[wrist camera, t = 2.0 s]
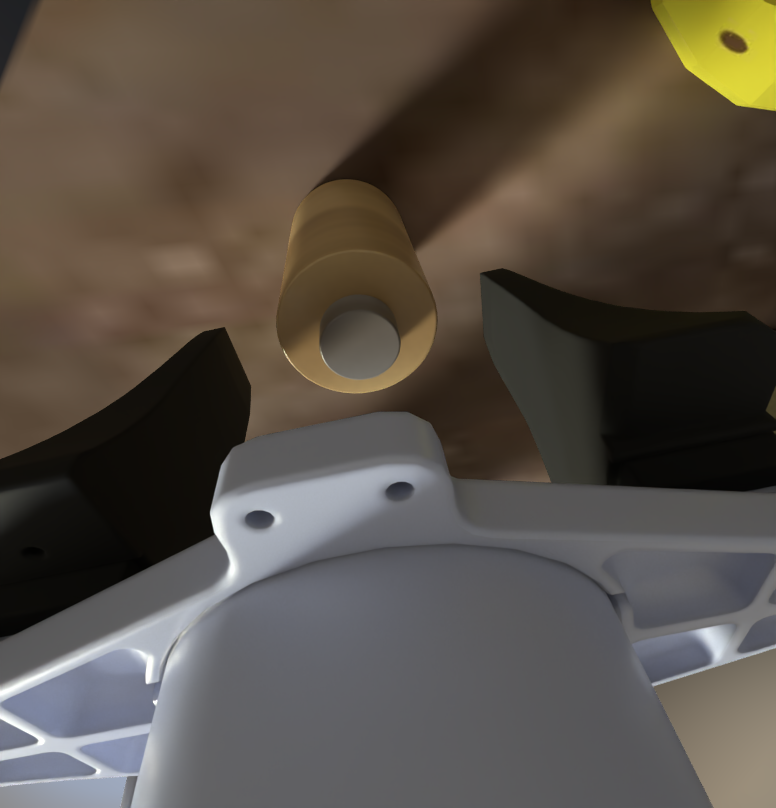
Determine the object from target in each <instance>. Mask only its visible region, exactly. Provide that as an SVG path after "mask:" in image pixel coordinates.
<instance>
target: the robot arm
mask: <svg viewBox="0 0 776 808" xmlns="http://www.w3.org/2000/svg"><path fill="white" fill-rule="evenodd" d="M480 280H481V297H482V314H483V331H484V339H485V342H486V344H487V347H488V350H489V353H490V355H491V358H492V360H493V363H494V365H495V367H496V369H497V370H498V372H499V374H500V376H501V378H502V379H503V381H504V383H505V385H506V386H507V388H508V390H509V392H510V393H511V395H512V397H513V399H514V400H515V402H516V404H517V406H518V407H519V409H520V411H521V412H522V414H523V416H524V418H525V420H526V422H527V424H528V426H529V428H530V430H531V432H532V435H533V437H534V440H535V442H536V445H537V447H538V449H539V452H540V454H541V457H542V459H543V462H544V464H545V467H546V470H547V472H548V475H549V477H550V480H551V482H552V483H544V482H522V481H501V480H479V479H458V478H455V477H452V476H451V475H450V473H449V470H448V466H447V463H446V459H445V456H444V452H443V448H442V445H441V441H440V439H439V438H438V436H437V434H436V432H435V431H434V429H433V427H432V425H431V423H429V422H427V421H425V420H423V419H421V418H419V417H417V416H415V415H413V414H411V413H409V412H375V413H370V414H365V415H360V416H355V417H350V418H345V419H340V420H336V421H331V422H326V423H321V424H316V425H311V426H306V427H301V428H297V429H292V430H287V431H282V432H277V433H272V434H267V435H262V436H258V437H255V438H253V439H251V440H249V441H246V442H244V441H245V437H246V432H247V426H248V421H249V416H250V402H251V385H250V383H249V380H248V378H247V376H246V374H245V371H244V369H243V367H242V365H241V363H240V360H239V358H238V356H237V354H236V351H235V349H234V347H233V345H232V342H231V340H230V338H229V336H228V333H227V331H226V329H225V327H223V328H218V329H214V330H209V331H204V332H202V333H200V334H199V335H197V336H196V337H195V338H193V339H192V340H191V341H190V342H188V343H187V344H186V345H185V346H184V347H183V348H181V349H180V350H179V351H178V352H177V353H176V354H174V355H173V356H172V357H171V358H170V359H169V360H168V361H166V362H165V363H164V364H163V365H162V366H161V367H159V368H158V369H157V370H156V371H155V372H153V373H152V374H151V375H150V376H148V377H147V378H146V379H145V380H143V381H142V382H141V383H140V384H138V385H137V386H136V387H135V388H133V389H132V390H131V391H129V392H128V393H126V394H125V395H124V396H122V397H121V398H119V399H118V400H116V401H115V402H113V403H112V404H110V405H109V406H107V407H106V408H104V409H102V410H101V411H99V412H98V413H96V414H94V415H92V416H90V417H89V418H87V419H85V420H83V421H82V422H80V423H78V424H76V425H74V426H73V427H71V428H69V429H67V430H65V431H63V432H61V433H59V434H57V435H55V436H53V437H51V438H49V439H47V440H45V441H43V442H40V443H38V444H36V445H34V446H31V447H29V448H27V449H25V450H22V451H20V452H18V453H15V454H13V455H10V456H7V457H5V458H2V459H0V787H2V786H11V785H19V784H28V783H41V782H52V781H65V780H80V779H95V778H110V777H125V776H127V780H126V784H125V789H124V793H123V798H122V802H121V807H120V808H713V806H712V804H711V802H710V800H709V798H708V796H707V794H706V792H705V790H704V788H703V786H702V784H701V782H700V780H699V778H698V776H697V774H696V772H695V770H694V768H693V766H692V764H691V762H690V760H689V758H688V756H687V754H686V752H685V750H684V748H683V746H682V744H681V742H680V740H679V738H678V736H677V734H676V732H675V730H674V728H673V726H672V724H671V722H670V720H669V718H668V716H667V714H666V712H665V710H664V708H663V706H662V704H661V702H660V700H659V698H658V696H657V694H656V692H655V690H654V688H653V686H656V685H659V684H662V683H665V682H668V681H672V680H675V679H678V678H681V677H685V676H687V675H691V674H694V673H697V672H701V671H704V670H707V669H710V668H713V667H717V666H720V665H722V664H726V663H729V662H732V661H736V660H739V659H742V658H745V657H748V656H752V655H755V654H758V653H761V652H764V651H768V650H771V649H774V648H776V434H775V433H774V432H773V431H776V419H775V418H774V417H773V416H771V415H770V414H769V413H768V412H767V411H766V409H767V406H768V404H769V401H770V399H771V397H772V394H773V392H774V389H775V387H776V331H774V330H773V329H771V328H770V327H768V326H767V325H765V324H764V323H762V322H761V321H759V320H758V319H756V318H755V317H754V316H752V315H751V314H749V313H748V312H746V311H732V312H671V311H656V310H645V309H638V308H630V307H623V306H617V305H611V304H607V303H602V302H598V301H593V300H589V299H585V298H582V297H578V296H575V295H572V294H569V293H566V292H563V291H560V290H557V289H554V288H552V287H549V286H547V285H544V284H542V283H539V282H537V281H534V280H532V279H529V278H527V277H525V276H522V275H520V274H517V273H515V272H512V271H510V270H507V269H503V268H501V269H497V270H492V271H487V272H483V273H480Z"/></svg>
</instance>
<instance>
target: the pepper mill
mask: <svg viewBox="0 0 776 808" xmlns="http://www.w3.org/2000/svg"><path fill="white" fill-rule="evenodd" d="M437 321H438V320H437V309H436V304H435V300H434V298H433V295H432V292H431V290H430V287H429V285H428V282H427V280H426V278H425V275H424V273H423V270H422V268H421V265H420V263H419V261H418V258H417V256H416V253H415V251H414V249H413V246H412V244H411V241H410V239H409V236H408V234H407V232H406V229H405V227H404V224H403V222H402V219H401V217H400V215H399V212H398V211H397V209H396V207H395V205H394V204H393V203H392V201H391V200H390V199H389V198H388V197H387V196H386V195H385V194H384V193H383V192H382V191H381V190H379V189H378V188H376V187H374V186H373V185H370V184H368V183H366V182H362V181H359V180H352V179H341V180H334V181H331V182H328V183H325V184H323V185H321V186H319V187H317V188H316V189H314V190H313V191H312V192H311V193H309V194H308V195H307V196H306V197H305V199H304V200H303V201H302V202H301V204H300V205H299V207H298V209H297V211H296V213H295V215H294V219H293V222H292V227H291V233H290V239H289V245H288V251H287V257H286V263H285V268H284V274H283V280H282V286H281V292H280V298H279V303H278V309H277V316H276V328H277V335H278V339H279V342H280V345H281V347H282V350H283V352H284V354H285V355H286V357H287V358H288V360H289V361H290V363H291V364H292V365H293V366H294V367H295V369H296V370H298V371H299V372H300V373H301V374H302V375H303V376H305V377H306V378H307V379H309V380H310V381H312V382H314V383H316V384H318V385H320V386H322V387H325V388H327V389H331V390H334V391H339V392H345V393H366V392H373V391H377V390H381V389H384V388H387V387H389V386H392V385H394V384H396V383H398V382H400V381H401V380H403V379H404V378H406V377H407V376H409V375H410V374H411V373H412V372H413V371H415V370H416V368H417V367H418V366H419V365H420V364H421V363H422V362H423V360H424V359H425V358H426V356H427V354H428V353H429V351H430V349H431V347H432V344H433V342H434V339H435V335H436V331H437Z"/></svg>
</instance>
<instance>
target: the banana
mask: <svg viewBox="0 0 776 808" xmlns="http://www.w3.org/2000/svg"><path fill="white" fill-rule="evenodd" d="M651 5H652V9H653V11H654V13H655V15H656V17H657V18H658V20H659V22H660V24H661V25H662V27H663V29H664V31H665V32H666V34H667V36H668V38H669V39H670V41H671V43H672V45H673V46H674V48H675V50H676V52H677V53H678V55H679V57H680V59H681V61H682V62H683V64H684V66H685V68H686V69H688V70H689V71H690V72H692V73H693V74H695V75H696V76H697V77H699V78H700V79H701V80H703V81H704V82H705V83H707V84H708V85H709V86H711V87H712V88H714V89H715V90H716V91H718V92H719V93H720V94H722V95H723V96H724V97H726V98H727V99H729V100H730V101H731V102H733V103H734V104H735V105H737V106H744V107H751V108H758V109H766V110H773V111H776V0H651Z"/></svg>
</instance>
